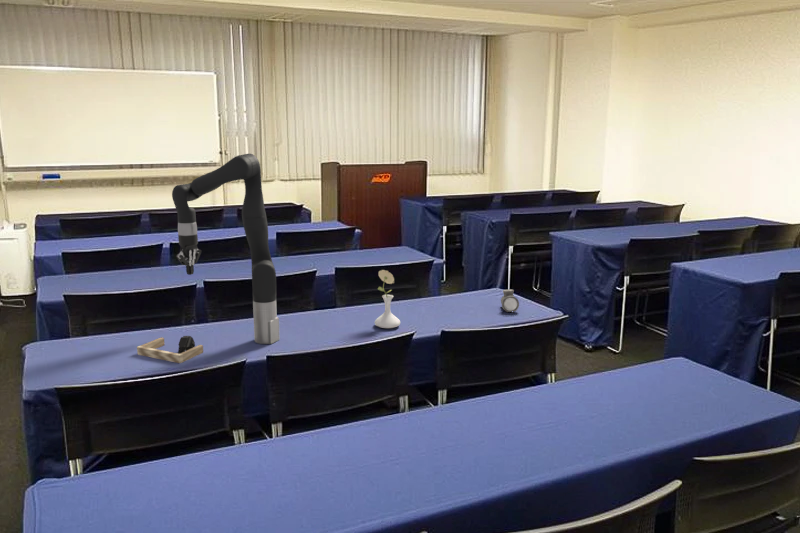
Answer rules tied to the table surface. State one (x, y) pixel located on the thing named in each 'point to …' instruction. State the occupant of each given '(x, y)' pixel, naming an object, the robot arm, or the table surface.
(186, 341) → the power plug
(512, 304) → the pipe fitting
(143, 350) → the bracket
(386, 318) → the flower in vase
